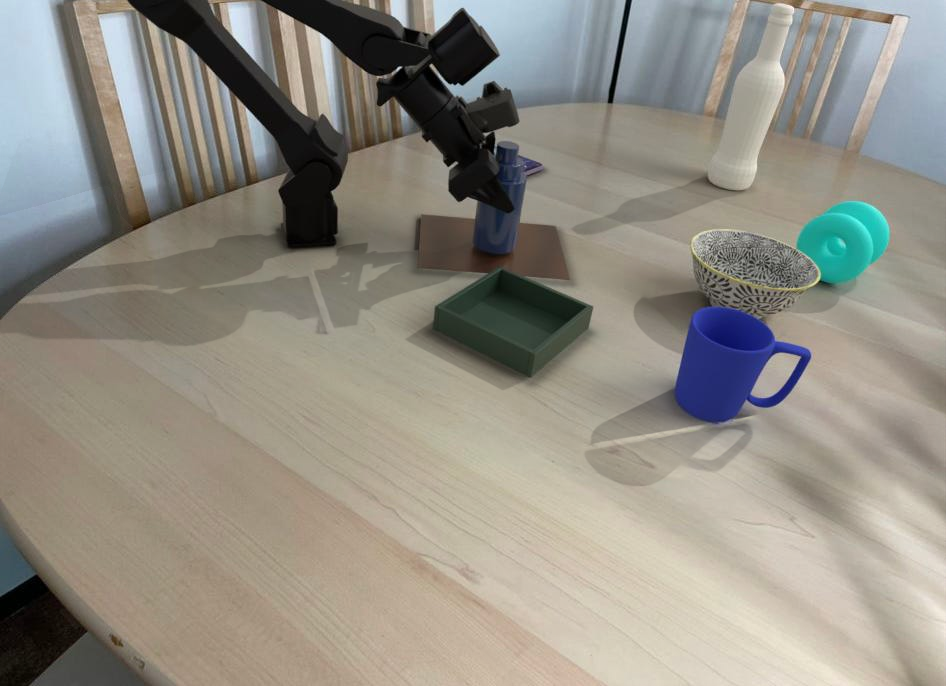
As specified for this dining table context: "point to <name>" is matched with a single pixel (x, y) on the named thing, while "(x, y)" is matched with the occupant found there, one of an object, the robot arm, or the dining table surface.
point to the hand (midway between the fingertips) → (510, 201)
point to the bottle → (752, 107)
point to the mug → (729, 364)
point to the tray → (513, 320)
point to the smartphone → (528, 164)
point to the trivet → (454, 250)
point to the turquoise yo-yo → (844, 240)
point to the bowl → (750, 271)
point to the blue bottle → (492, 224)
